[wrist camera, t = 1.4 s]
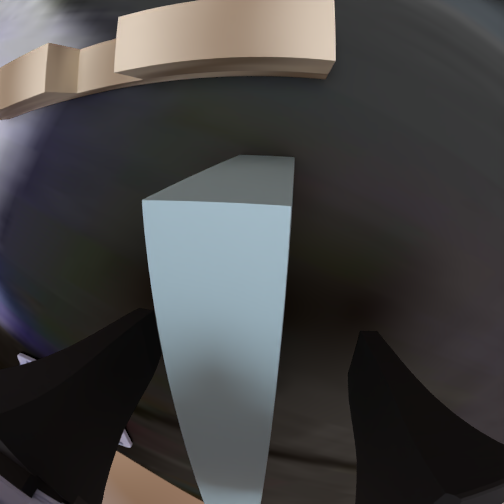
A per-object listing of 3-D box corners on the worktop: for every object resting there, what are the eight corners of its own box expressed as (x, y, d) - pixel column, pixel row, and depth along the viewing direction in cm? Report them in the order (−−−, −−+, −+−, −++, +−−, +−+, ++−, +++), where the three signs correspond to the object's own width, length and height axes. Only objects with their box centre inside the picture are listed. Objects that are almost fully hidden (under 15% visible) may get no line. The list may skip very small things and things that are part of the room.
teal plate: (239, 390, 15) (207, 512, 9) (239, 154, 11) (141, 199, 4) (275, 394, 15) (257, 520, 8) (294, 157, 11) (290, 206, 4)
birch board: (9, 118, 11) (-32, 125, 8) (10, 85, 10) (-30, 87, 8) (325, 79, 9) (335, 60, 7) (325, 30, 9) (334, -1, 6)
